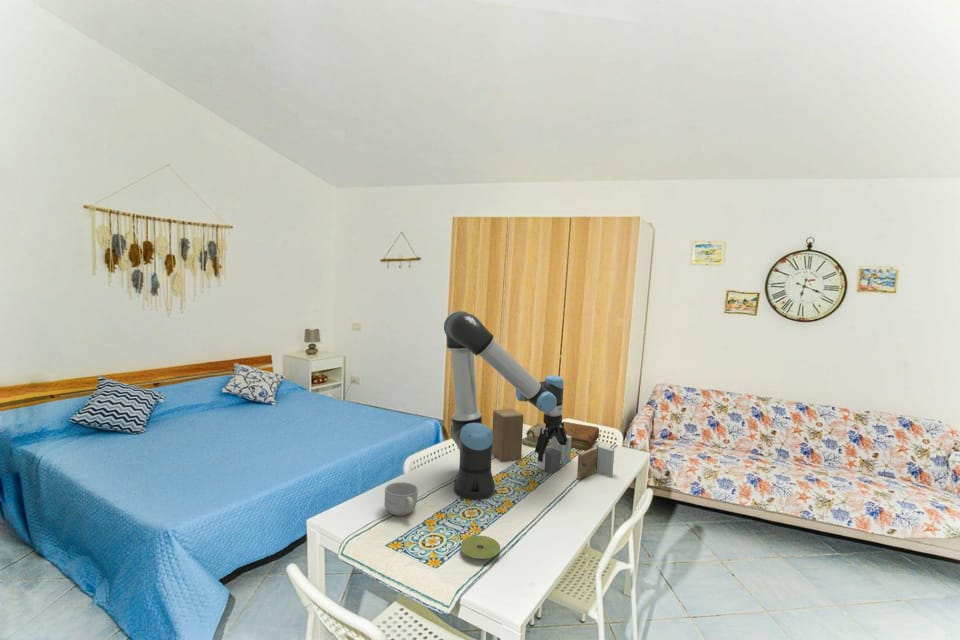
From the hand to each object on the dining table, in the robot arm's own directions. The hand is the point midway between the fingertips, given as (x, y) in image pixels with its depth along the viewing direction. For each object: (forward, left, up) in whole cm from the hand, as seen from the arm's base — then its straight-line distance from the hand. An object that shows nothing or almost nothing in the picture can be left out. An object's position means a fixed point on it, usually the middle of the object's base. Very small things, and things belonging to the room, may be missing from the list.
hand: (550, 464), depth 191 cm
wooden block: (-3, +21, -3) cm, 22 cm away
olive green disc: (-64, -20, -3) cm, 67 cm away
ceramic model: (+21, +23, -3) cm, 31 cm away
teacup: (-67, +13, -3) cm, 68 cm away
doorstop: (0, 0, -2) cm, 2 cm away
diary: (+39, +12, -3) cm, 41 cm away
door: (+6, -14, -2) cm, 16 cm away
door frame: (+13, -6, -2) cm, 14 cm away
